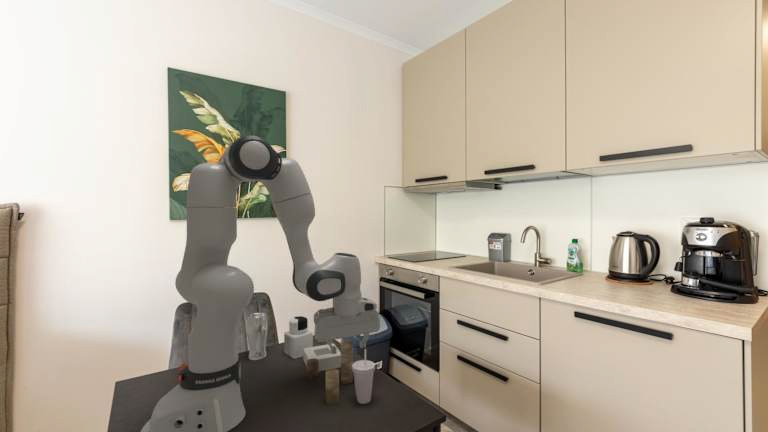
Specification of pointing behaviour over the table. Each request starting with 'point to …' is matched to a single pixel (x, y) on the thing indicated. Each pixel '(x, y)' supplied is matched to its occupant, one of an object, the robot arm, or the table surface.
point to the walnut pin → (312, 369)
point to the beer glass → (257, 335)
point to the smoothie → (363, 379)
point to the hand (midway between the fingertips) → (348, 350)
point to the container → (297, 337)
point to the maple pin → (346, 361)
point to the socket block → (323, 357)
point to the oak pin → (332, 386)
